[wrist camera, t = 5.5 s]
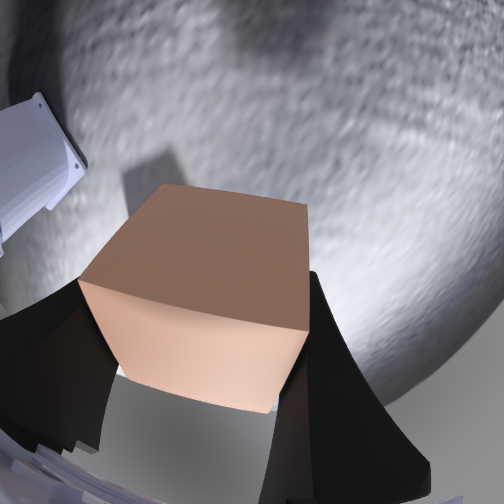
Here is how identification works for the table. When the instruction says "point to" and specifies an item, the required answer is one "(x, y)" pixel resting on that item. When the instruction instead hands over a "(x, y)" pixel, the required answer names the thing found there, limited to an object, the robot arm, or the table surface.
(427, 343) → the table surface
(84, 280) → the peach block
